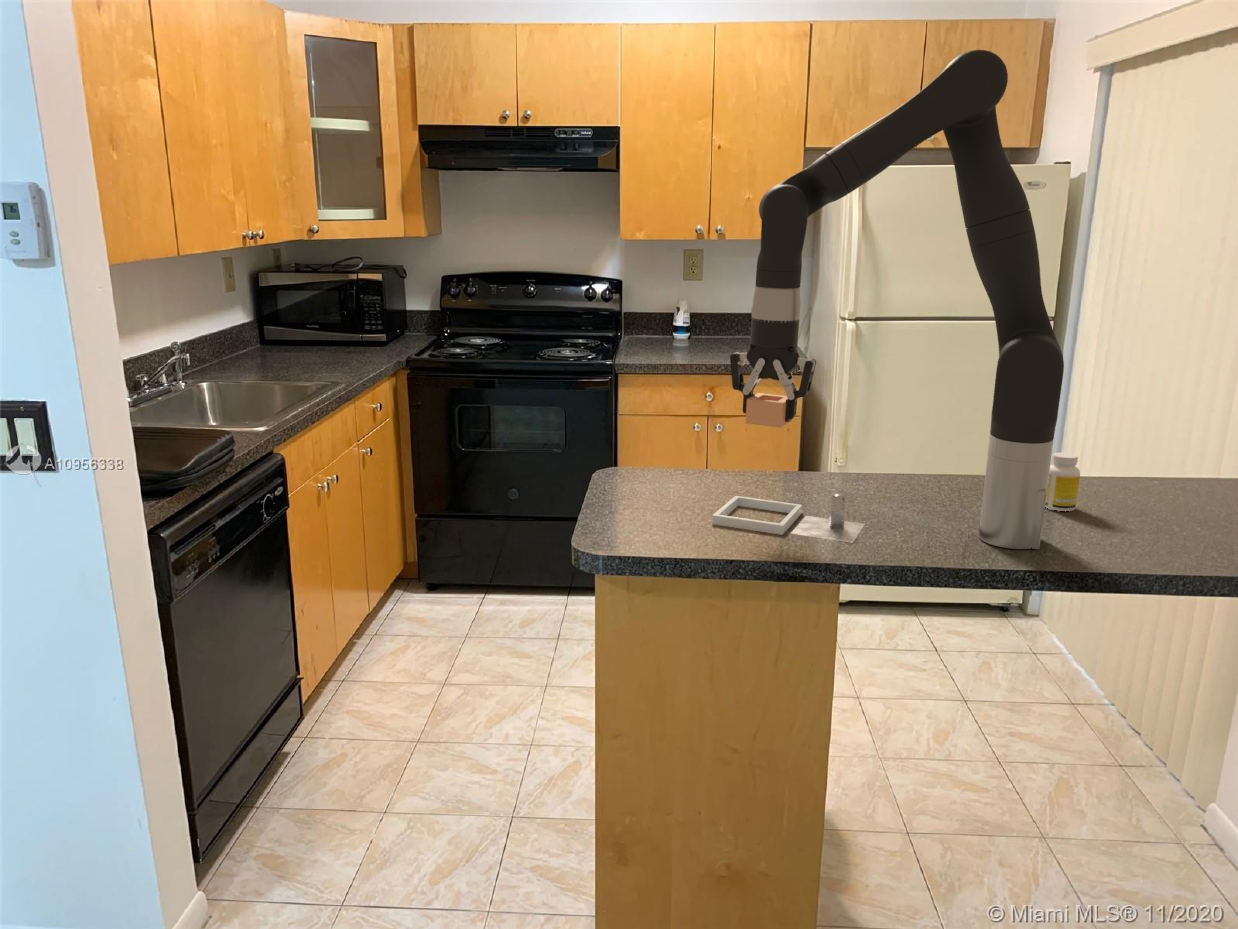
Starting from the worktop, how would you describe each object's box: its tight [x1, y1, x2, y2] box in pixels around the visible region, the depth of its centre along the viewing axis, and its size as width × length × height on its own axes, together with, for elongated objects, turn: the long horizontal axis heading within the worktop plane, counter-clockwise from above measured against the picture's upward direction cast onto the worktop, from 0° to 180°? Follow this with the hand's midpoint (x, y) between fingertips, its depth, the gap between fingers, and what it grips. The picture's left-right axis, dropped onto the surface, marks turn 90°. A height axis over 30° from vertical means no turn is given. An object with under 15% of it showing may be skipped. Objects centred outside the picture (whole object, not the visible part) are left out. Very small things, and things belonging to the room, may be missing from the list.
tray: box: [711, 495, 803, 536], centre depth 156 cm, size 12×12×2 cm
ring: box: [745, 392, 790, 429], centre depth 151 cm, size 6×6×4 cm
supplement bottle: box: [1045, 452, 1081, 513], centre depth 164 cm, size 5×5×10 cm
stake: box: [790, 492, 866, 544], centre depth 151 cm, size 10×10×6 cm
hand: (768, 418), depth 151 cm, fingers closed on ring, 6 cm apart
